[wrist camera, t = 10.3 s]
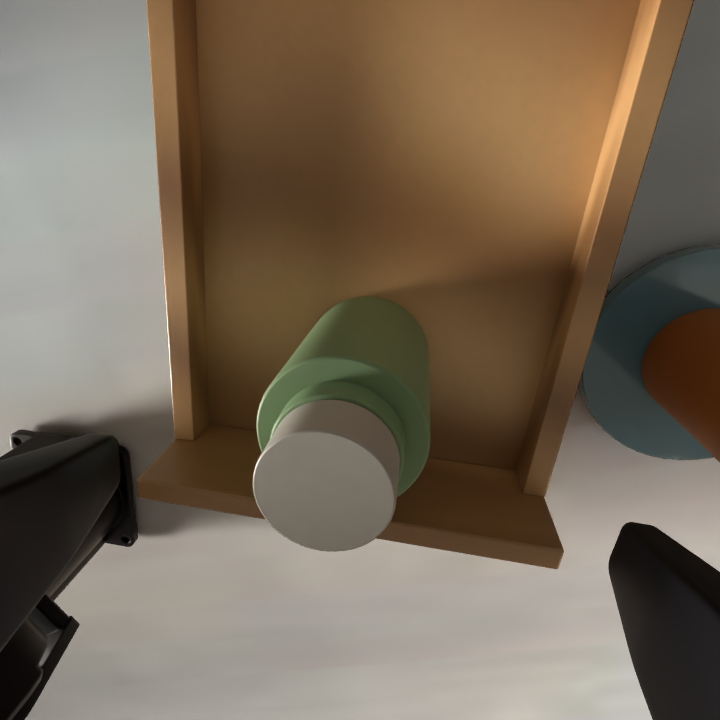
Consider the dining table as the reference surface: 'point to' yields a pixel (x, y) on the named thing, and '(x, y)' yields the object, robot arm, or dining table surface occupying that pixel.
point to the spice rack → (400, 224)
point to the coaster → (629, 342)
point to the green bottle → (345, 426)
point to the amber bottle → (688, 374)
